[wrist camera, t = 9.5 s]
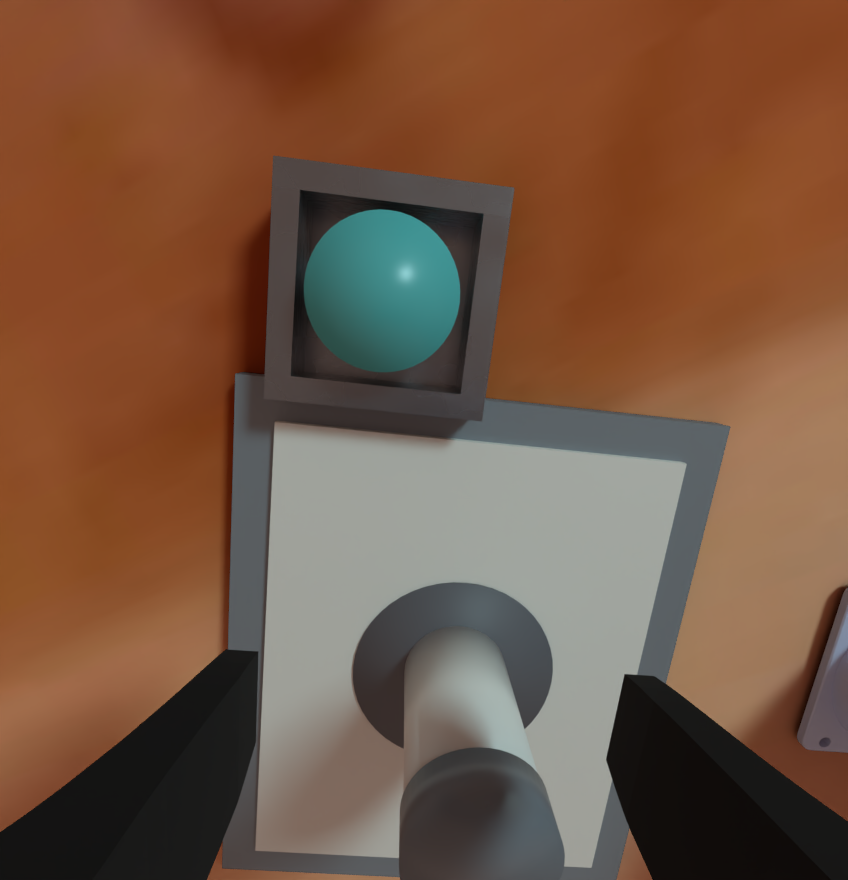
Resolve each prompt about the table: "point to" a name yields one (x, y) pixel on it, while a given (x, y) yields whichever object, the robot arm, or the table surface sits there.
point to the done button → (381, 290)
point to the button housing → (471, 246)
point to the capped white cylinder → (470, 769)
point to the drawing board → (448, 601)
